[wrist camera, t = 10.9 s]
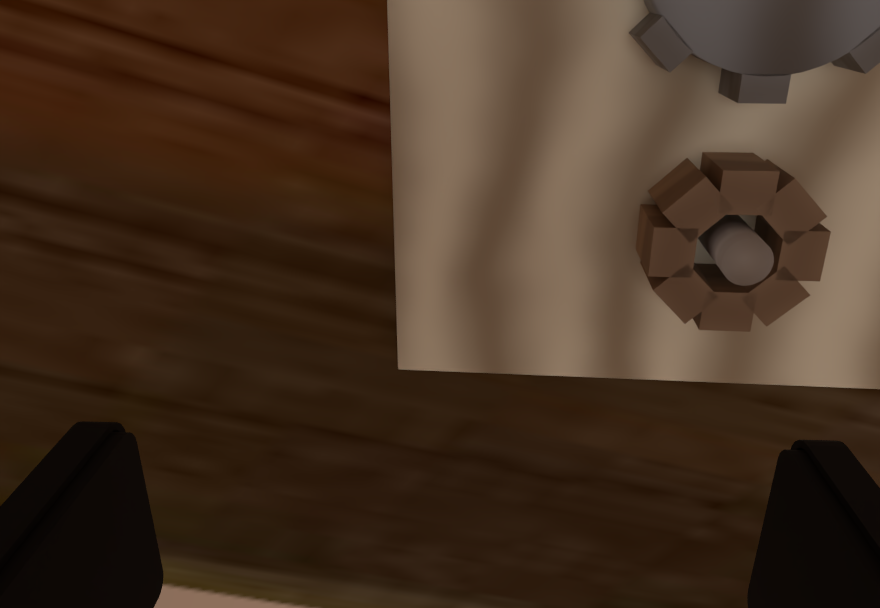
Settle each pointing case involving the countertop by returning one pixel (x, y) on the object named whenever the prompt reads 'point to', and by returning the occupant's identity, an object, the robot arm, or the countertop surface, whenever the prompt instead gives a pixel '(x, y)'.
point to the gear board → (625, 181)
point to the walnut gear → (702, 205)
